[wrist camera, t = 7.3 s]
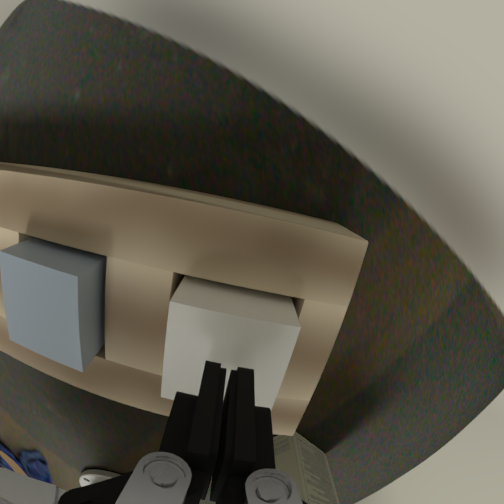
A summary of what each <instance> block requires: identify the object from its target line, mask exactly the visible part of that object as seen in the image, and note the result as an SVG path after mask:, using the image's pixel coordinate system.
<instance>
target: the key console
mask: <svg viewBox="0 0 504 504" xmlns="http://www.w3.org/2000/svg"><path fill="white" fill-rule="evenodd" d="M33 237H36V238H39V239H43V240H47V241H50V242H54V243H58V244H61V245H65V246H69V247H72V248H76V249H80V250H84V251H88V252H92V253H96V254H99V255H103V256H107V264H106V282H105V344H104V345H103V346H102V348H101V349H100V350H99V351H98V353H97V354H96V355H95V357H94V358H93V359H92V361H91V362H90V363H89V365H88V366H87V367H86V369H85V370H84V372H81V371H78V370H76V369H73V368H71V367H68V366H66V365H63V364H61V363H58V362H56V361H54V360H51V359H49V358H47V357H45V356H42V355H40V354H38V353H36V352H34V351H32V350H30V349H28V348H25V347H23V346H21V345H19V344H17V343H15V342H13V341H12V340H10V338H9V333H8V327H7V321H6V315H5V308H4V301H3V293H2V283H1V271H0V350H1V351H3V352H4V353H6V354H8V355H10V356H12V357H14V358H15V359H17V360H19V361H21V362H23V363H25V364H27V365H29V366H31V367H33V368H35V369H37V370H39V371H41V372H43V373H46V374H48V375H50V376H52V377H54V378H57V379H59V380H61V381H64V382H66V383H68V384H71V385H73V386H76V387H78V388H81V389H83V390H86V391H88V392H91V393H94V394H96V395H99V396H102V397H105V398H108V399H111V400H114V401H117V402H120V403H123V404H126V405H129V406H132V407H136V408H139V409H143V410H146V411H150V412H153V413H157V414H161V415H165V416H169V415H170V411H171V408H172V405H173V401H174V400H171V399H167V398H163V397H161V385H162V372H163V360H164V349H165V339H166V329H167V320H168V312H169V303H170V300H171V298H172V297H173V295H174V293H175V292H176V290H177V288H178V286H179V285H180V283H181V281H182V280H183V278H184V276H185V275H188V276H192V277H197V278H201V279H206V280H211V281H215V282H220V283H225V284H229V285H234V286H239V287H244V288H249V289H254V290H259V291H264V292H269V293H274V294H279V295H284V296H290V297H291V299H292V302H293V305H294V308H295V311H296V314H297V317H298V320H299V323H300V326H301V329H300V332H299V335H298V338H297V341H296V344H295V347H294V350H293V353H292V356H291V358H290V361H289V364H288V367H287V370H286V372H285V375H284V378H283V381H282V383H281V386H280V389H279V391H278V394H277V397H276V399H275V402H274V405H273V407H272V410H271V419H272V431H273V434H276V435H289V436H293V435H294V433H295V431H296V429H297V427H298V424H299V422H300V420H301V418H302V416H303V414H304V412H305V410H306V408H307V406H308V404H309V401H310V399H311V397H312V395H313V393H314V390H315V388H316V386H317V384H318V381H319V379H320V377H321V374H322V372H323V370H324V367H325V365H326V363H327V360H328V358H329V355H330V353H331V350H332V348H333V345H334V343H335V340H336V338H337V335H338V332H339V330H340V327H341V324H342V322H343V319H344V316H345V313H346V311H347V308H348V305H349V302H350V299H351V296H352V293H353V290H354V288H355V284H356V281H357V278H358V275H359V272H360V269H361V266H362V263H363V259H364V256H365V253H366V249H367V246H368V241H367V240H365V239H363V238H362V237H360V236H358V235H357V234H355V233H353V232H352V231H350V230H348V229H346V228H345V227H343V226H341V225H340V224H338V223H335V222H331V221H327V220H323V219H319V218H315V217H311V216H307V215H303V214H299V213H295V212H290V211H286V210H282V209H277V208H273V207H269V206H264V205H260V204H255V203H251V202H246V201H241V200H237V199H232V198H227V197H223V196H218V195H213V194H208V193H203V192H198V191H193V190H187V189H182V188H177V187H171V186H166V185H161V184H155V183H149V182H144V181H138V180H132V179H126V178H120V177H113V176H107V175H100V174H94V173H87V172H80V171H73V170H66V169H58V168H50V167H42V166H34V165H25V164H16V163H6V162H0V250H2V249H5V248H7V247H10V246H12V245H15V244H17V243H20V242H23V241H25V240H28V239H30V238H33Z"/></svg>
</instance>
